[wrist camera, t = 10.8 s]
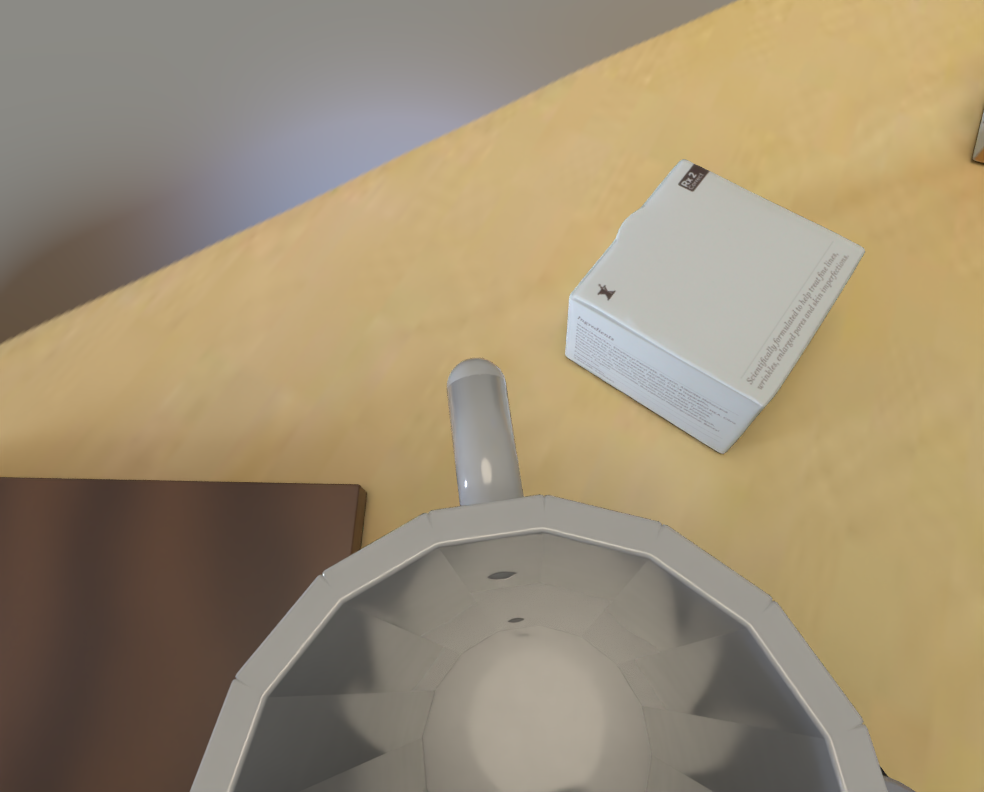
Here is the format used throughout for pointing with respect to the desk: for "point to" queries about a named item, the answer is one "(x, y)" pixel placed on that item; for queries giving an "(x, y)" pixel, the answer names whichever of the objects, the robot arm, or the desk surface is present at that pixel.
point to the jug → (533, 657)
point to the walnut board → (144, 616)
